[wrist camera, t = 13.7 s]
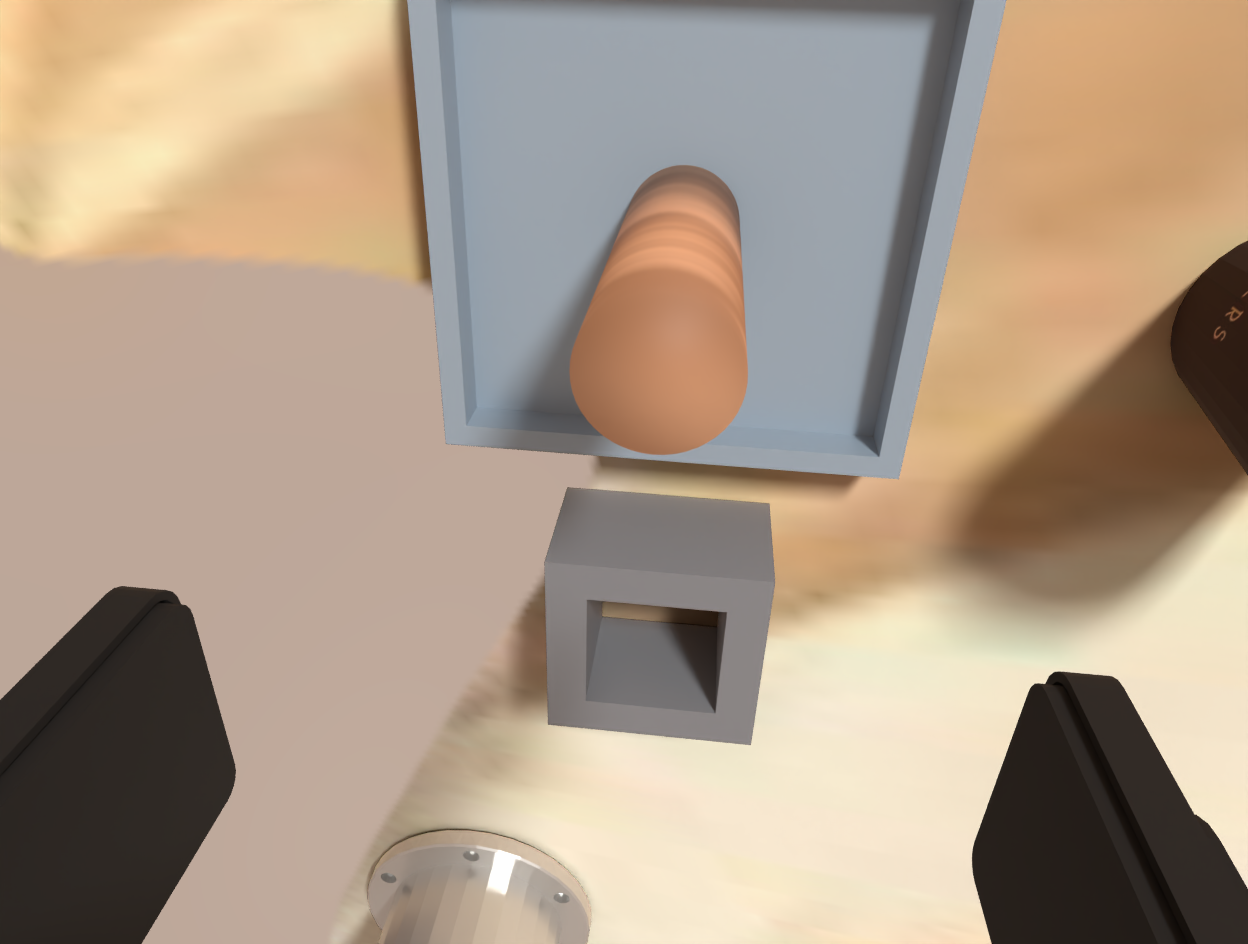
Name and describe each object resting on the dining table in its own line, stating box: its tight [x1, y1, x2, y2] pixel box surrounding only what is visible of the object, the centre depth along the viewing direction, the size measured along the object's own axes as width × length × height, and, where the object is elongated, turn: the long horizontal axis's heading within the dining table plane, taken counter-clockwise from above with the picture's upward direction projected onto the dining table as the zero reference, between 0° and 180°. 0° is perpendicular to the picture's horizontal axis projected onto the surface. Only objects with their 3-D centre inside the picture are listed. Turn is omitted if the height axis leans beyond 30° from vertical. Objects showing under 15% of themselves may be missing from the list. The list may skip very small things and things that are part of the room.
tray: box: [407, 0, 1006, 479], centre depth 27 cm, size 16×16×2 cm
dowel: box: [569, 165, 748, 455], centre depth 23 cm, size 4×4×12 cm
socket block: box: [544, 487, 775, 745], centre depth 34 cm, size 8×8×5 cm
